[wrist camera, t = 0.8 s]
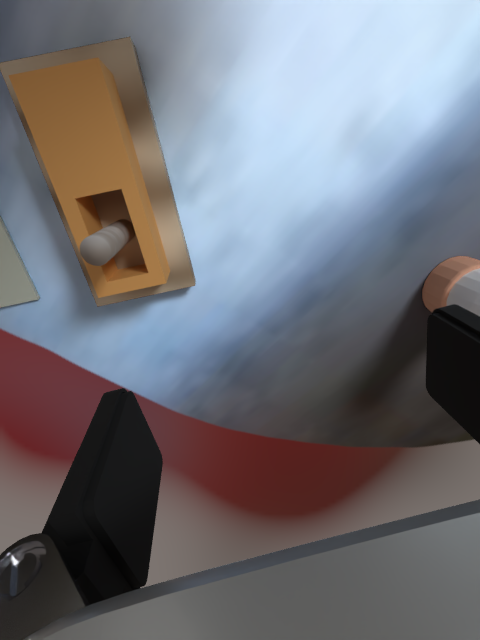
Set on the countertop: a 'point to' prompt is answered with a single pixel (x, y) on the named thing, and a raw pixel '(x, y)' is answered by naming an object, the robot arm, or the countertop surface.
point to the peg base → (111, 205)
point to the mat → (13, 273)
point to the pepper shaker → (454, 285)
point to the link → (91, 161)
